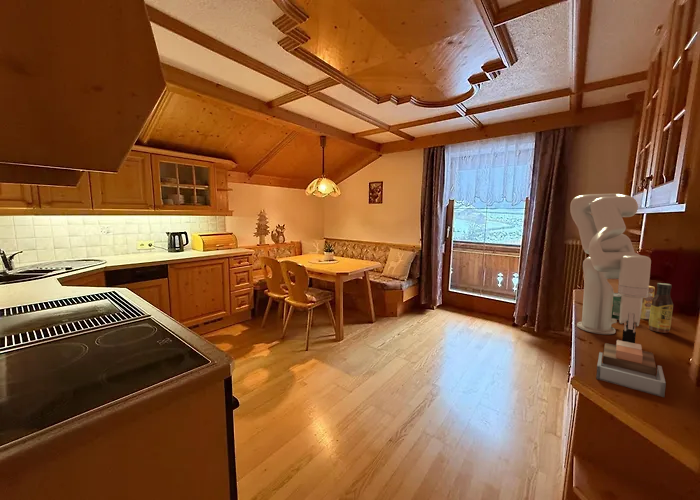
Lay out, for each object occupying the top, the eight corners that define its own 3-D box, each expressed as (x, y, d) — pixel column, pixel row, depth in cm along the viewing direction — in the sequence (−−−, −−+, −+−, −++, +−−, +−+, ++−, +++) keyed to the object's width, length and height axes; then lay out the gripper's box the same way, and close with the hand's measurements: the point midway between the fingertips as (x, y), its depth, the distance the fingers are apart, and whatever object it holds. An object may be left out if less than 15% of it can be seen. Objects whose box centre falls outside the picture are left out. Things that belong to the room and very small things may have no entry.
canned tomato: (599, 314, 144) (601, 292, 142) (616, 314, 143) (618, 292, 142) (613, 320, 136) (615, 296, 134) (631, 320, 135) (633, 296, 134)
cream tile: (616, 346, 102) (616, 339, 102) (640, 351, 98) (641, 344, 98) (615, 351, 99) (616, 344, 98) (641, 357, 95) (641, 349, 94)
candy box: (652, 319, 135) (656, 287, 134) (642, 319, 136) (645, 286, 134) (637, 313, 144) (640, 282, 142) (627, 313, 145) (630, 282, 143)
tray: (598, 363, 97) (599, 352, 97) (660, 378, 88) (661, 366, 87) (596, 378, 88) (597, 366, 88) (664, 397, 79) (665, 383, 78)
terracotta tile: (615, 352, 98) (616, 345, 98) (641, 357, 94) (641, 350, 94) (615, 357, 95) (616, 350, 94) (641, 363, 91) (642, 355, 90)
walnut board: (604, 350, 106) (604, 342, 105) (652, 361, 98) (652, 352, 97) (602, 364, 96) (603, 355, 96) (655, 377, 88) (656, 368, 88)
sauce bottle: (662, 334, 119) (667, 286, 117) (644, 328, 125) (648, 282, 123) (674, 332, 120) (679, 285, 118) (656, 327, 126) (660, 281, 124)
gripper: (618, 285, 110) (614, 333, 111) (617, 293, 99) (613, 346, 100) (646, 288, 104) (642, 338, 106) (649, 297, 94) (644, 352, 95)
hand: (628, 342), depth 103 cm, fingers closed
